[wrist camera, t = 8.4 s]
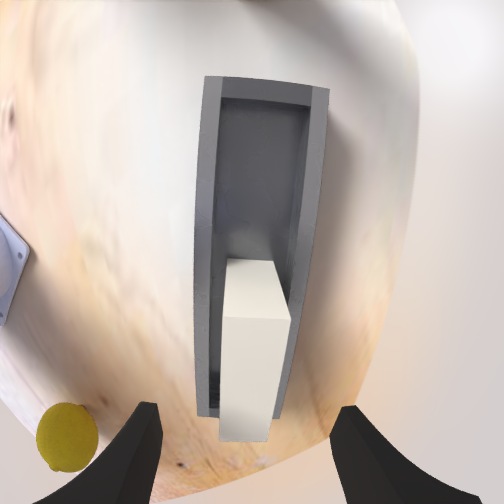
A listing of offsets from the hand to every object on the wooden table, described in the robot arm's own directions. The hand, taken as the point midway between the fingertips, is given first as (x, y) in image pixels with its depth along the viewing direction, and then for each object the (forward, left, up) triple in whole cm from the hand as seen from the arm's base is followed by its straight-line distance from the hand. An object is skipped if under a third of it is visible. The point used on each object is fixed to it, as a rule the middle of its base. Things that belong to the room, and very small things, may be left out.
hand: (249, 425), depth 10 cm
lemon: (-19, +4, -9) cm, 21 cm away
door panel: (0, 0, -8) cm, 8 cm away
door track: (+2, +2, -9) cm, 9 cm away
